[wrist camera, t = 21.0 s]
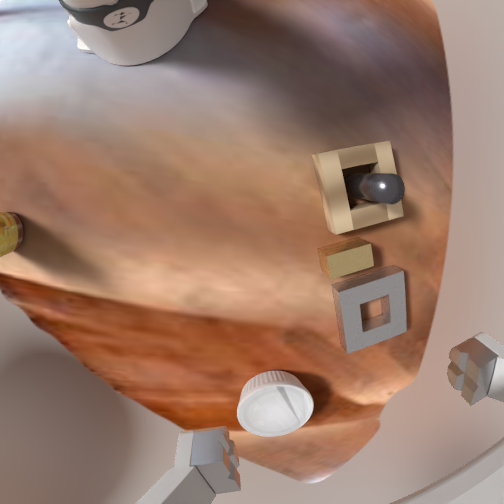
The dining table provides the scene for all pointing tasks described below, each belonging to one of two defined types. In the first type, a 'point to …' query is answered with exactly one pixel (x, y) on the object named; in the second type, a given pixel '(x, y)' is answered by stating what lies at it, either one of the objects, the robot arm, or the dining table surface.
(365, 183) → the dark grey rounded rod
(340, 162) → the block
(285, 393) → the ramekin
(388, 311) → the socket plate
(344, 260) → the bar
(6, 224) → the sauce bottle
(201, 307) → the dining table surface
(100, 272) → the dining table surface
